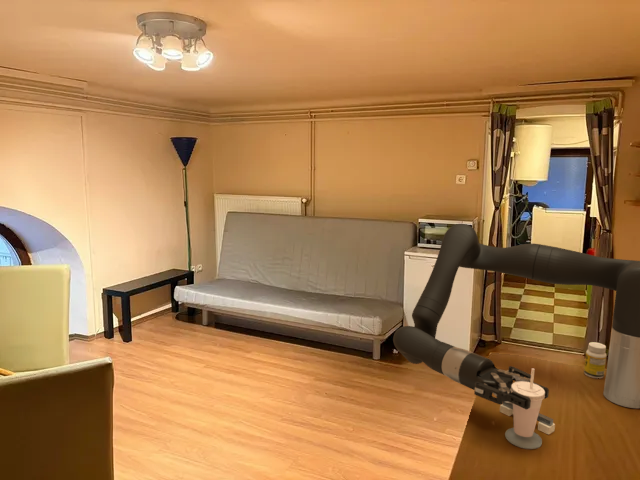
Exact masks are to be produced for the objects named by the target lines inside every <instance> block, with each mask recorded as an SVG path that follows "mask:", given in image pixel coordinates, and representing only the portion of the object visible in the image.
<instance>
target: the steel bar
mask: <svg viewBox="0 0 640 480" xmlns="http://www.w3.org/2000/svg"><path fill="white" fill-rule="evenodd" d="M502 404H503V405H504V406H506V407H508V408H511V409H513V403H511V402H510V403H506V402H503V403H502ZM537 422H538V423H539V422H541V423H544V424H546V425H548V426H551V425H553V423H554V418H552V417H549V416H547V415H544V414H543V413H540V412H539V414H538V418H537Z"/></svg>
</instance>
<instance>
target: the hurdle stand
mask: <svg viewBox="0 0 640 480" xmlns="http://www.w3.org/2000/svg"><path fill="white" fill-rule="evenodd" d="M499 405H500V406H499V413H501V414H503V415H506V416H508V417H510V416H513V409H511V408H508V407H506V406H504V405H503V403H502V404H499ZM537 424H538V425H537V430H538V431H539V432H542V433H544V434H546V435H551V434H552V433H554V432H555V430H556V429H555V428H556V424H555V423H554V422H553V425H551V426H548V425H546V424H544V423H541V422H539V421H538V423H537Z"/></svg>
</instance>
